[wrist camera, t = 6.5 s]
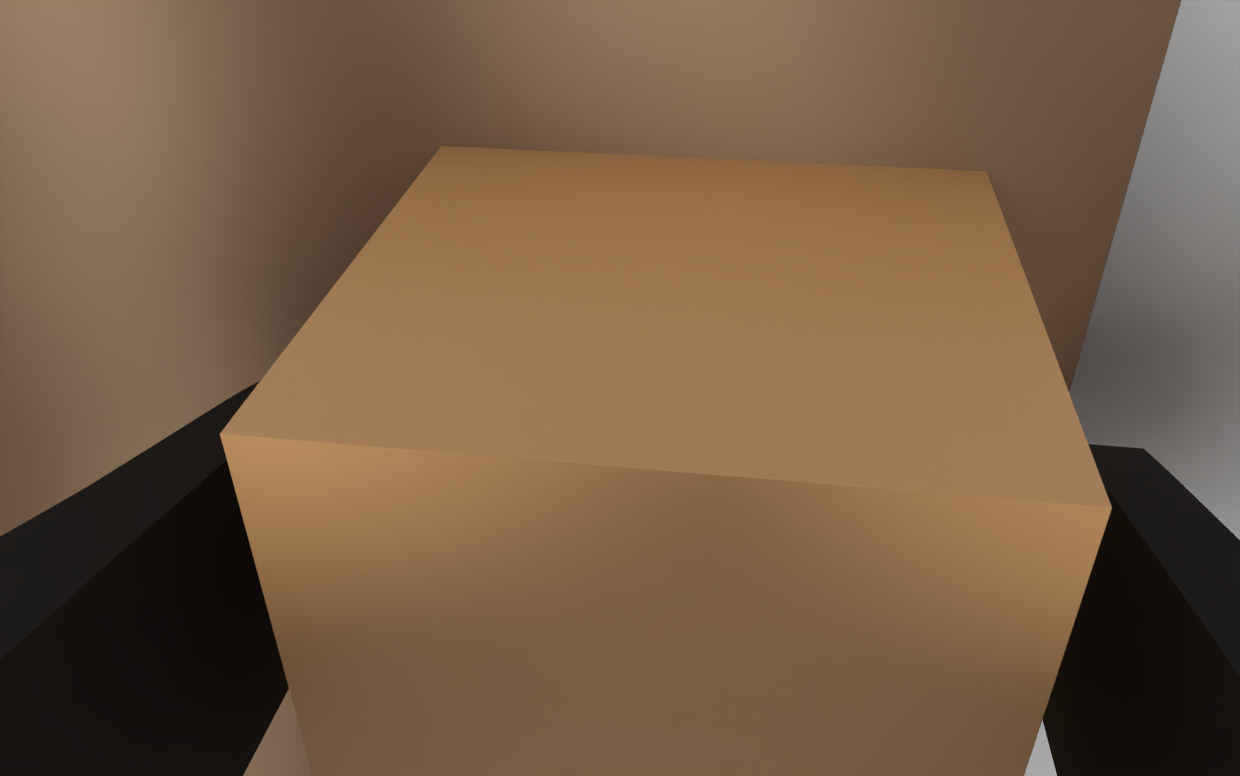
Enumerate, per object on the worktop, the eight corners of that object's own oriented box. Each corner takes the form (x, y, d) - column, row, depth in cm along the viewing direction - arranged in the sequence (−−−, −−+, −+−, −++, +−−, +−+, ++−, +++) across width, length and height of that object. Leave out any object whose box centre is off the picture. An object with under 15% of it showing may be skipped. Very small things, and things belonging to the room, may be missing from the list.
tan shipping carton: (483, 540, 14) (349, 907, 10) (440, 146, 11) (220, 433, 7) (905, 580, 13) (952, 991, 9) (985, 171, 10) (1111, 508, 6)
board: (38, 723, 20) (-2, 778, 19) (-345, -89, 12) (-450, -67, 11) (915, 833, 18) (923, 901, 17) (1147, -46, 10) (1185, -16, 9)
